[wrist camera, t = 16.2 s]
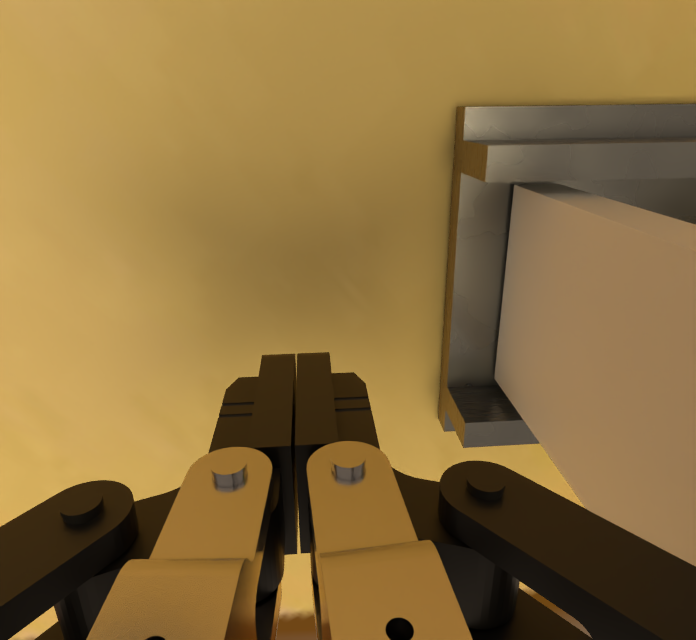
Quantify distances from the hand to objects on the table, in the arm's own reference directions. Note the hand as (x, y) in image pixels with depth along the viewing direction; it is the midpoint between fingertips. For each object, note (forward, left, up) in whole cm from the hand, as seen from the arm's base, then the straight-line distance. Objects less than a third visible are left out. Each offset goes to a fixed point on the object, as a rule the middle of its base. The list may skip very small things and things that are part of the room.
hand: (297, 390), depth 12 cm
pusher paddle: (0, +8, -7) cm, 10 cm away
